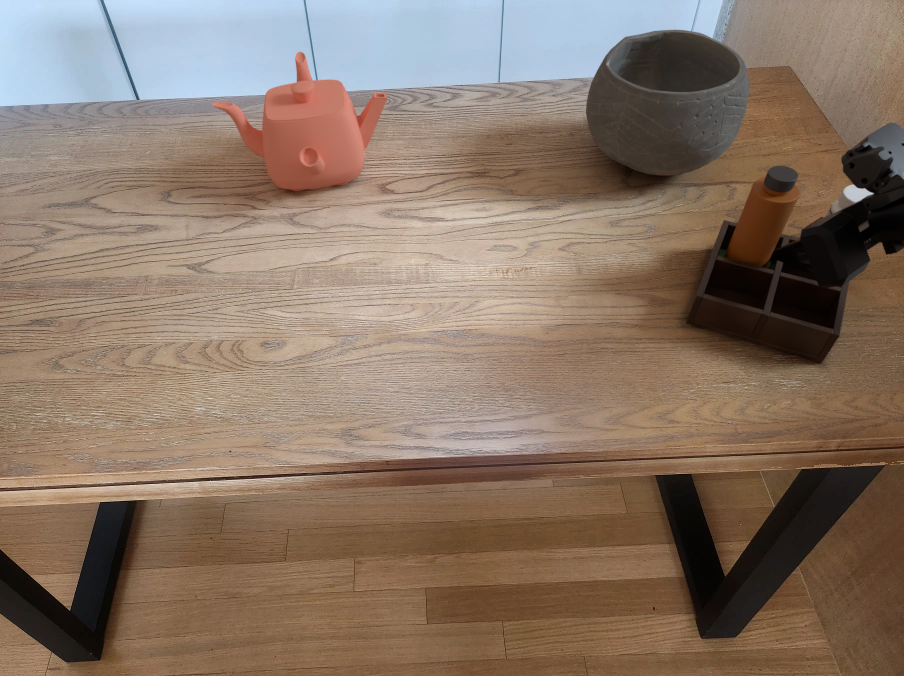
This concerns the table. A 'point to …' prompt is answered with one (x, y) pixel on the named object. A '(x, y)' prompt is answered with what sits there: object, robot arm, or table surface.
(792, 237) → the rack
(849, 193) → the pill bottle
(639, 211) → the table surface
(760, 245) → the amber bottle
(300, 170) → the teapot
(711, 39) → the bowl
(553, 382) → the table surface
